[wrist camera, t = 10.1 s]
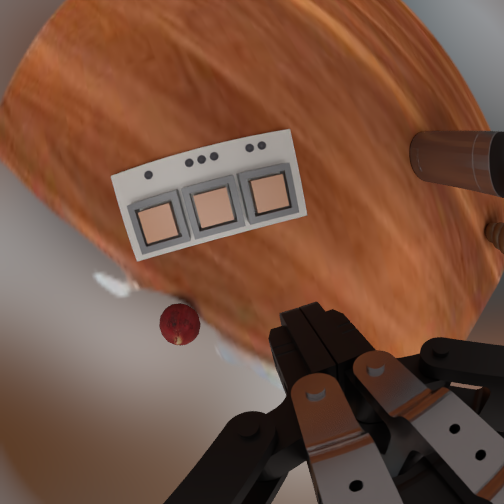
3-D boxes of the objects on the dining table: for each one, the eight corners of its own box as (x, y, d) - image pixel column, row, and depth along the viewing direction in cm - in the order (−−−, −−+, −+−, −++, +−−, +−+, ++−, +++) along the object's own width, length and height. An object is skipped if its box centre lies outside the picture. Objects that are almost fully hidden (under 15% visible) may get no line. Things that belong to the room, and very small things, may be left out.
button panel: (285, 130, 36) (295, 126, 32) (302, 212, 40) (314, 218, 36) (115, 175, 34) (104, 177, 29) (140, 256, 38) (133, 267, 33)
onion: (158, 297, 40) (150, 325, 32) (195, 291, 41) (195, 319, 33) (167, 329, 42) (163, 361, 34) (203, 324, 42) (204, 356, 35)
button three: (224, 186, 34) (226, 187, 32) (232, 216, 36) (234, 219, 34) (193, 194, 34) (193, 196, 32) (201, 224, 35) (201, 228, 33)
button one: (170, 201, 34) (168, 203, 32) (179, 231, 35) (178, 234, 33) (141, 210, 33) (137, 212, 31) (150, 239, 35) (147, 243, 33)
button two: (278, 173, 35) (282, 174, 33) (284, 203, 36) (289, 205, 34) (248, 180, 34) (250, 181, 33) (255, 210, 36) (258, 213, 34)
